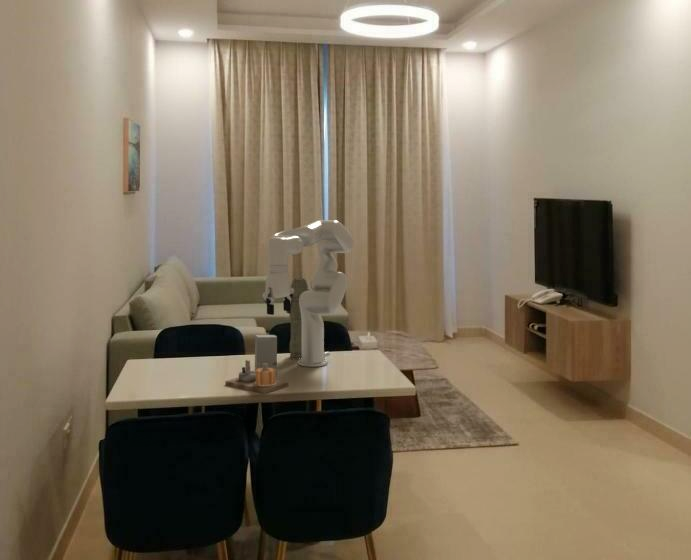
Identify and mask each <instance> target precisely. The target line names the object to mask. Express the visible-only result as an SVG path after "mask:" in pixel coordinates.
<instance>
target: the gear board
mask: <svg viewBox="0 0 691 560" xmlns="http://www.w3.org/2000/svg"><path fill="white" fill-rule="evenodd" d="M244 361H245V366H242V367H241V372H238V377H235V378H232V379H228V380H225V383H224V384H225V386H229V387H233V388H236V389H237V388H238V389H241V390H246V391H250V392H255V393H259V394H268V393H271V392H274V391H277V390H280V389H283V388H286V387H287V388H288V387H289V381H285V380H279V379H275V383H274V384H273V385H267V386H264V385H258V384H256V372H255V370H253V371H252V370H251V360H250V359H245V360H244ZM263 371H268V364H267V363H263Z"/></svg>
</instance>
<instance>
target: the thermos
mask: <svg viewBox="0 0 691 560" xmlns="http://www.w3.org/2000/svg"><path fill="white" fill-rule="evenodd" d="M290 287H291V288H293V289H294V292H293V296H292V298H291V299H292V300H291V301H290V303H291V311H285V312H286V314H289V319H290V341H289V352H290V353H289V354H290V355H289V358H290V357H291V359H293V358H298V359H297V360H300V359H299V358H302V333H301V328H302V324H301V311H300V306H299V297H300V295H301V294H302V293H303V292H305V291H308V290H310V289H309V285H308V281H307V279H305V278H293V279H292V280H291V283H290Z"/></svg>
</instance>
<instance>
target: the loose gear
mask: <svg viewBox="0 0 691 560" xmlns="http://www.w3.org/2000/svg"><path fill="white" fill-rule="evenodd" d="M275 380H276V375H275V369H273V368H268V371H263V368H262V369H261V368H258V369H257V370H256V384H258V385H264V386H267V385H273V384H274V383H275Z"/></svg>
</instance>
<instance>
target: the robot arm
mask: <svg viewBox="0 0 691 560" xmlns="http://www.w3.org/2000/svg"><path fill="white" fill-rule="evenodd" d="M315 244H316V248H317V249H316V250H317V253H318V264H317V267H316V268H315V271H314V274H313V276H312V278H311V281H310V288H311V289H309V290H308V291H305V292H303V293H302V294H301V295H300V297H299V306H300V311H301V324H302V328H301V333H302V359H298V361H297V364H298V365H299V366H302V367H310V368H315V367H317V368H319V367H323V366H327V364H328V360H327V359H326V357H330V355H331V353H330V352H329V351H325V347H324V346H325V341H324V339H325V327H324V325H325V324H324V320H323V317H322V315H334V314H336V313H337V312H338V311H339V309H340V306H341V303H342V302H343V299H344V297H345V294H346V291H347V289H348V278H347V275H346V274H345V272H341V271H337V270H338V267H339V266H338V262H337V259H336V258H335V257H334V255H333V254H335V253H336V254H348V253H351V252H352V251H353V249H354V247H355V241H354V238H353V235H352V234H351V232H349V230H348V229H347V228H346V227H345V225H344V224H343V223H341V222H340V221H339V220H336V219H334V220H330V219H326V220H325V219H318V220H315V221H313V222H310V223H308V224H305V225H303V226H301V227H295V228H293V229H286V230H282V231H279V232H277V233H275V234H273V235H271V237H269V238H268V240H267V254H268V255H267V259H268V268H267V269H268V273H267V274H266V279H265V280H266V281H265V291H264V292H263V293H262V294H261V295H262V296H261V297H262V298H263V301H264V302H265V305H266V314H267V315H271V316H273V315H275V304H274V302H275V301H276V300H277V299H283V311H285V312H286V311H291V300H292V299H291V298H292V296H293V292H294V289H293V288H291V279H290V273H289V261H288V260H289V259H288V258H289V256H288V255H290V256H292V255H293V256H294V255H295V256H296V255H298V254H300V253H301V252H302V251H303V249H304V248H306V247H307V248H308V247H311V246H314V245H315ZM321 314H322V315H321Z"/></svg>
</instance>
